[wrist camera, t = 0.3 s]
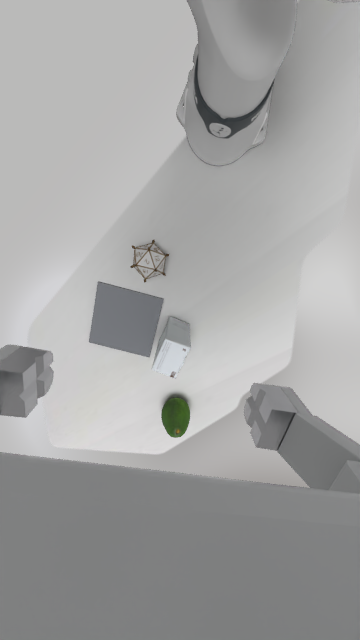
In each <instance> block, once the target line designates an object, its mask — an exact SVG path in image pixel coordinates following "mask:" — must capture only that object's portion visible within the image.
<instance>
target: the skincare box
mask: <svg viewBox="0 0 360 640" xmlns="http://www.w3.org/2000/svg"><path fill="white" fill-rule="evenodd" d="M190 349H191V343H190V327H189V324H187V323H185V322H183V321H180V320H178V319H176V318H173V317H171V316H170V317H169V320H168V323H167V325H166V327H165V330H164V332H163V334H162V336H161V338H160V340H159V343H158V347H157V351H156V354H155V359H154V363H153V367H152V370H154V371H156V372H159V373H162V374H164V375H167V376H170V377H173V378H175V379H176V377H177V375H178V373H179V371H180V368H181V367H182V366H183V364H184V360H185V358H186V356H187V354H188V353H189V351H190Z"/></svg>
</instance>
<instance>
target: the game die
mask: <svg viewBox="0 0 360 640" xmlns="http://www.w3.org/2000/svg"><path fill="white" fill-rule="evenodd" d="M154 242H155V241H154V240H152V243H151V244H147V245H144V246H140V247H137V248H135V247H134V246H132V248H134V249H135V250H134V263H133V265H132V266H131V268H133V267H134V268H135V269H136V270H137V271H138V272H139V273H140V274H141V275H142V276H143V277H144V278H145V279H144V282H146V279H147V278H151V277H154V276H157V275H160V274H163V275H165V273H163V271H164V265H165V259H166V256H169V254H166V255H165V254H164V253H163V252H162V251H161V250H160V249H159V248H158V247H157V246H156V245H155V244H154ZM165 276H166V275H165Z"/></svg>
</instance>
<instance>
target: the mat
mask: <svg viewBox="0 0 360 640" xmlns="http://www.w3.org/2000/svg"><path fill="white" fill-rule="evenodd" d="M162 303H163V299H162V298H159V297H155V296H151V295H147V294H143V293H140V292H136V291H132V290H128V289H124V288H121V287H117V286H113V285H109V284H106V283H102V282H98V285H97V292H96V299H95V305H94V312H93V319H92V325H91V332H90V338H89V342H90V343H94V344H98V345H102V346H106V347H110V348H114V349H118V350H122V351H126V352H130V353H134V354H138V355H142V356H146V357H150V353H151V348H152V344H153V340H154V336H155V332H156V328H157V324H158V320H159V316H160V312H161V308H162Z"/></svg>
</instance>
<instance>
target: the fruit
mask: <svg viewBox="0 0 360 640" xmlns="http://www.w3.org/2000/svg"><path fill="white" fill-rule="evenodd" d="M161 418H162V422H163V425H164V427H165V429H166V431H167V433H168V434H169V435H170V436H171V437H175V438H176V437H181V436H182V435H183V434H184V433H185V431H186V430H187V427H188V424H189V420H190V410H189V406H188V404H187V403H186V402H185V401H184V400H183V399H180V398H172V399H170V400H168V401H167V402H166V403H165V405H164V407H163V409H162V417H161Z"/></svg>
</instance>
